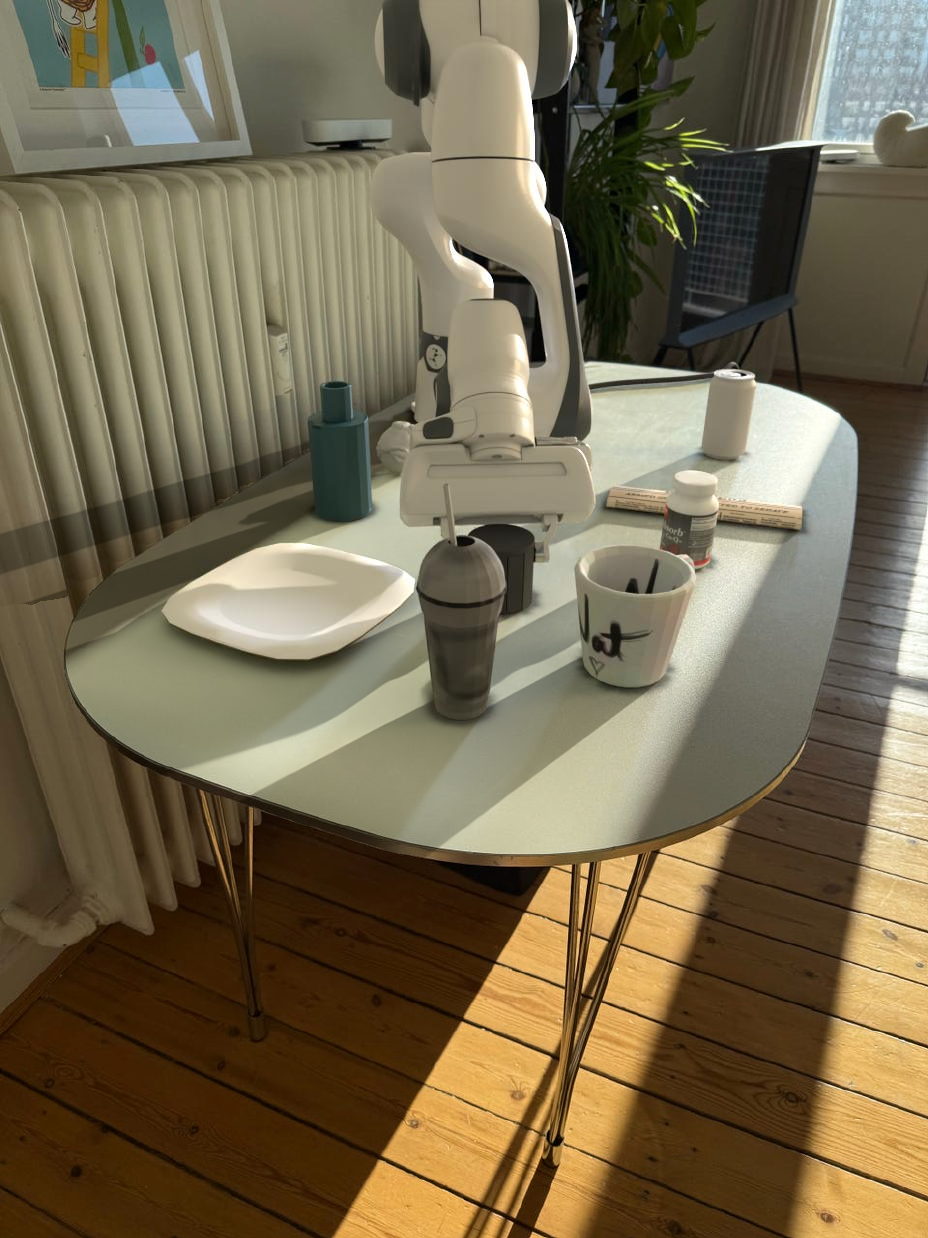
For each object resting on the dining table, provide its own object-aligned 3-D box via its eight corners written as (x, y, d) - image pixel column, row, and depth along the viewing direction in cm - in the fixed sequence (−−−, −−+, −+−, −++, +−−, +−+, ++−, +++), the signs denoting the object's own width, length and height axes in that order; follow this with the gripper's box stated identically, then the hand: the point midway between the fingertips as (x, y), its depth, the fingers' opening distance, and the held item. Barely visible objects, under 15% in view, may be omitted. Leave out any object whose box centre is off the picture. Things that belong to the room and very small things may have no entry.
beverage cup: (495, 735, 74) (501, 507, 64) (409, 724, 75) (402, 499, 65) (509, 686, 80) (516, 472, 70) (429, 677, 81) (425, 465, 71)
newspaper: (606, 510, 115) (607, 496, 114) (614, 490, 121) (615, 477, 120) (799, 533, 109) (802, 519, 108) (799, 511, 115) (801, 498, 114)
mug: (544, 665, 83) (549, 567, 78) (640, 610, 92) (650, 520, 87) (637, 712, 76) (649, 610, 71) (730, 648, 85) (747, 553, 80)
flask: (341, 495, 119) (333, 373, 111) (383, 507, 115) (378, 383, 107) (303, 512, 114) (291, 386, 106) (345, 526, 110) (337, 396, 102)
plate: (313, 687, 79) (312, 671, 78) (136, 627, 88) (133, 611, 88) (438, 588, 96) (438, 574, 95) (278, 545, 105) (277, 532, 104)
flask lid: (490, 577, 98) (491, 518, 95) (543, 594, 95) (547, 534, 91) (453, 601, 93) (453, 540, 90) (508, 620, 90) (510, 557, 86)
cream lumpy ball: (432, 469, 127) (431, 421, 124) (400, 483, 122) (398, 433, 119) (399, 460, 130) (398, 413, 127) (367, 474, 126) (364, 425, 122)
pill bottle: (649, 553, 104) (658, 471, 99) (691, 546, 105) (703, 465, 100) (676, 574, 99) (687, 489, 94) (720, 566, 101) (733, 483, 96)
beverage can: (753, 458, 132) (767, 376, 126) (717, 463, 130) (729, 380, 124) (727, 445, 137) (739, 365, 131) (691, 450, 135) (702, 369, 129)
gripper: (584, 449, 99) (595, 569, 95) (397, 453, 97) (401, 574, 94) (595, 422, 93) (608, 548, 89) (396, 425, 91) (401, 554, 87)
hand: (500, 562), depth 91 cm, fingers closed on flask lid, 7 cm apart
